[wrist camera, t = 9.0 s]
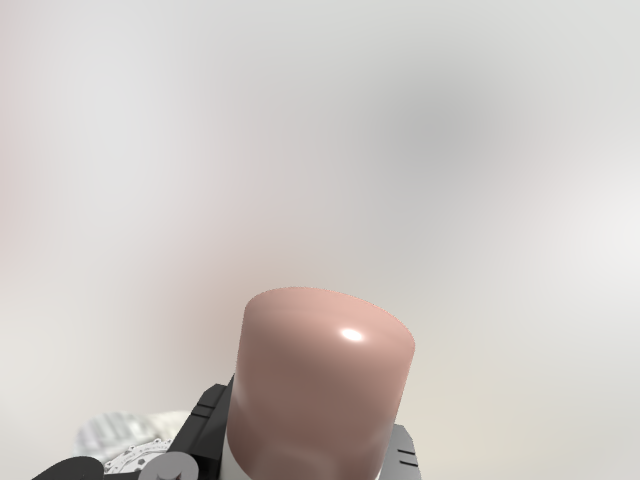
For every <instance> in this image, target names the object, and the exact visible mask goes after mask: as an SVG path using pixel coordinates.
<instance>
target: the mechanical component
mask: <svg viewBox="0 0 640 480" xmlns="http://www.w3.org/2000/svg"><path fill="white" fill-rule="evenodd" d="M172 442H173V440H172V439H167V440H166V442H161V439H158V438H157V439H155V440H154V442H150V443H147V444H143V445H140V446H135V445H133V446H129V448H128V451H126V452H124V453H122V454H121V455H119V456H118V457H117V458H115V459H114V460H113V461H109V462H107V463H106V464H105V468H104V474H115V473H128V472H135V471H139V470H142V469H143V468H144V466H145V465H146V464H147V463H148V462H149V461H151V460H152V459H153V458H155V457H157V456H159V455H161V454H164V453H166V451H167V450H168V448H169V447H170V445H171V444H172Z"/></svg>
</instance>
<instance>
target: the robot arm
mask: <svg viewBox="0 0 640 480" xmlns="http://www.w3.org/2000/svg"><path fill="white" fill-rule="evenodd" d="M234 375H235V373H234ZM234 375H233V377H232V379H231V380H230V382H229V384H228V386H224V385H220V384H215V385H214V386H212V387H211V388H209V389H208V390H206V391H205V392H204V393H203V395H202V396H201V398H200V400H199V401H198V403H197V405H196V406H195V407H194V409H193V410H192V412H191V415H189V417H188V418H187V420H186V421H185V423H184V425H183V426H182V428H181V429H180V431H179V433H178V434H177V436H176V437H175V439H174V440H173V442H172V444H171V445H170V447H169V448H168V450H167V451H166V453H164V454H161V455H159V456H157V457H155V458H153V459H152V460H151V461H149V462H148V463H147V464H146V465H145V466H144V468H143V469H142V470H139V471H135V472H128V473H115V474H104V468H103V465H102V464H101V462H100V461H98V460H97V459H95V458H92V457H87V456H79V457H73V458H69V459H66V460H63V461H61V462H59V463H57V464H55V465H53V466H51V467H50V468H48V469H47V470H46V471H44V472H42V473H41V474H39V475H38V476H36V477H35V478H33V479H32V480H218V477H219V471H220V465H221V458H222V452H223V445H224V439H225V433H226V426H227V420H228V413H229V407H230V401H231V394H232V388H233V382H234ZM378 480H422V479H421V475H420V471H419V468H418V462H417V458H416V456H415V450H414V445H413V441H412V438H411V437H410V435H409V434H408V432H407V431H406V429H405V428H404V426H402V425H397V424H394V426H393V429H392V433H391V436H390V440H389V443H388V447H387V451H386V454H385V458H384V461H383V465H382V468H381V472H380V475H379V479H378Z"/></svg>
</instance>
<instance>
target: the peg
mask: <svg viewBox="0 0 640 480" xmlns="http://www.w3.org/2000/svg"><path fill="white" fill-rule="evenodd" d="M414 351H415V342H414V339H413V337H412V335H411V333H410V331H409V330H408V329H407V328H406V326H405V325H403V323H402V322H400V321H399V320H398V319H397V318H396V317H394V316H393V315H391V314H390V313H388V312H387V311H385V310H383V309H381V308H379V307H378V306H375V305H374V304H371V303H369V302H367V301H364V300H362V299H359V298H356V297H353V296H350V295H347V294H343V293H339V292H334V291H330V290H325V289H317V288H308V287H288V288H280V289H273V290H269V291H266V292H263V293H261V294H259V295H257V296H255V297H254V298H252V299H251V300H250V301H249V303H248V304H247V306H246V307H245V312H244V318H243V325H242V331H241V337H240V343H239V350H238V356H237V362H236V369H235V375H234V382H233V388H232V394H231V401H230V407H229V413H228V420H227V426H226V433H225V439H224V445H223V452H222V458H221V465H220V471H219V477H218V480H378V479H379V475H380V472H381V468H382V465H383V461H384V458H385V454H386V451H387V447H388V443H389V440H390V436H391V433H392V429H393V426H394V422H395V418H396V415H397V411H398V408H399V404H400V401H401V397H402V394H403V390H404V386H405V383H406V380H407V376H408V372H409V369H410V365H411V362H412V358H413V355H414Z"/></svg>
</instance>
